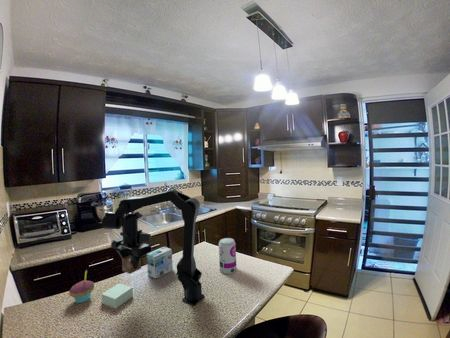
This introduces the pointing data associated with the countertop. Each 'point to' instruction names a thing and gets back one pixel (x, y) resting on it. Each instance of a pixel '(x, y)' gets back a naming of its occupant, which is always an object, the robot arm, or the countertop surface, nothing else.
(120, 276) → the countertop surface
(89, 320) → the countertop surface
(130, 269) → the walnut cube
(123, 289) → the sage block
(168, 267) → the light bulb box
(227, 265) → the supplement can
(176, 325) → the countertop surface
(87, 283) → the cupcake
